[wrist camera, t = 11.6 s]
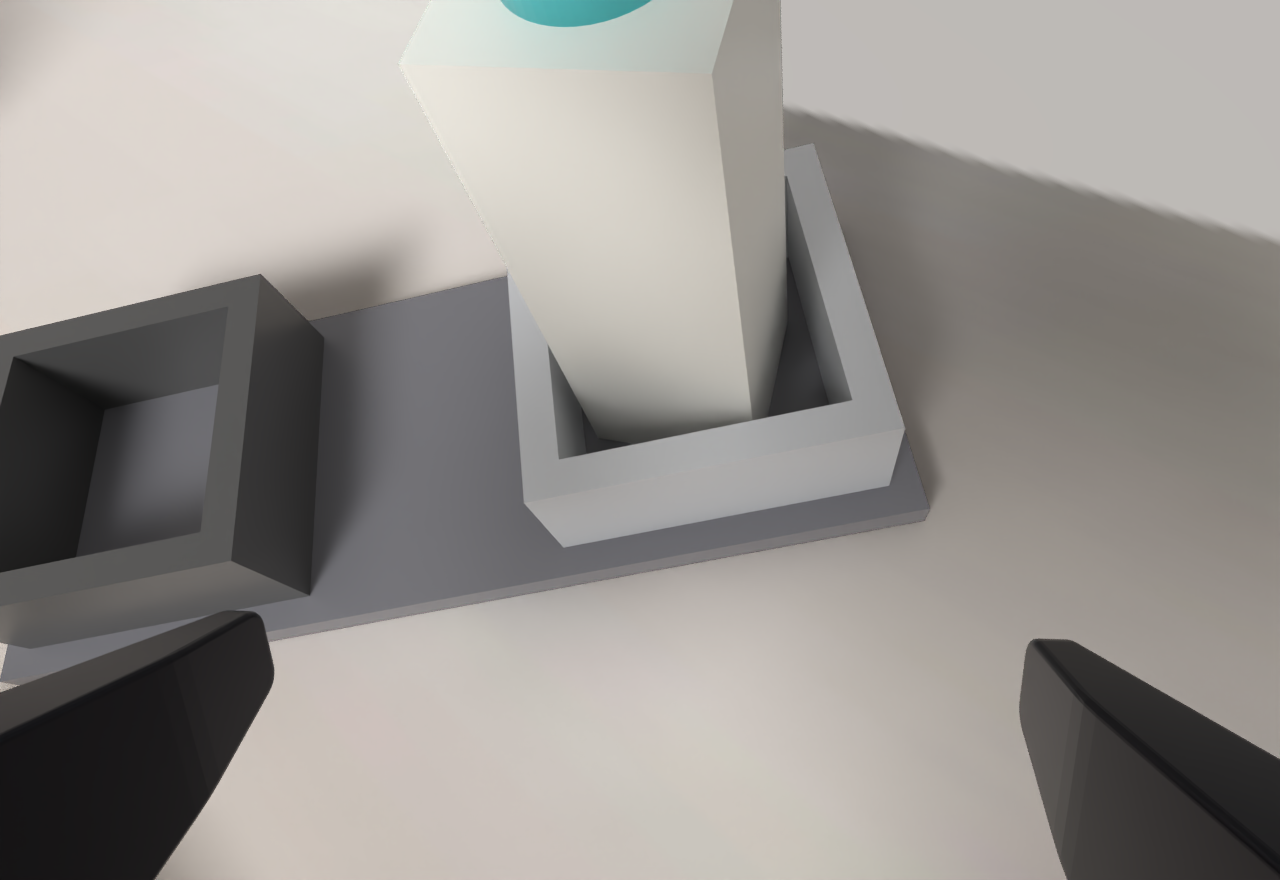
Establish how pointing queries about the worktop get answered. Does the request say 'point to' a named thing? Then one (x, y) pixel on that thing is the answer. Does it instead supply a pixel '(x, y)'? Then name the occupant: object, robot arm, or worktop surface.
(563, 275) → the plug
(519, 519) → the grey long flat tray
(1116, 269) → the worktop surface
